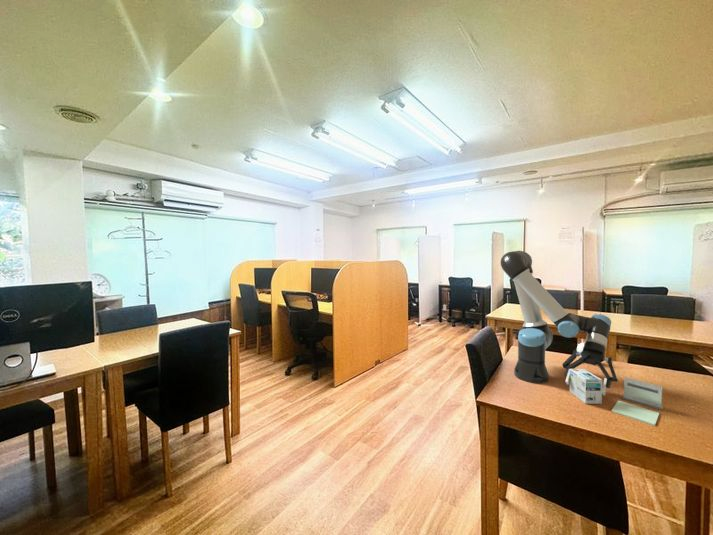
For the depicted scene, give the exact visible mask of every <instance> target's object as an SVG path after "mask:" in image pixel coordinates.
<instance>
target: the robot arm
mask: <svg viewBox="0 0 713 535" xmlns="http://www.w3.org/2000/svg"><path fill="white" fill-rule="evenodd" d="M532 265H533V260H532V256H531V254H529V253H528V252H526V251H523V250H515V251H514V250H513V251H512V250H511V251H508V252H506V253H504V254H503V255H502V257H501V259H500V267H501V269H502V270H503V272H504V273H505V274H506V275H507V276H508V277H509V278H510V279H511V280H512V281H513V283H514V287H515V291H516V294H517V298H518V302H519V305H520V309H521V312H522V317H523V320H524V323H523V324H522V329H520V330H519V332H518V336H517V339H518V340H517V343H518V344H517V347H518V348H517V356H518V357H517V362H516V364H515V366H514V368H513V371H514V372H513V374H514V376H515V377H516V378H518V379H520V380H522V381H525V382H529V383H532V384H533V383H534V384H544V383H548V382H549V381H550V380H549V379H550V374H549V371H548V369H547V366H546V350H547V348H549V347H550V346H551V344H552V343H553V339H554V335H553V332H552V330H551V329H550V328H549V325H548V322H547V321H545V320H544V319H543V316H542V312H541V311H543V313H544V315H546V317H548V319H549V320H550V321H551V323H553V324H554V325H555V326H556V327H557V331H558V333H559V335H560V336H562V337H564V338H569V339H570V338H573V337H576V336H577V335H578V334H579V332H583V333H586V337H585V340H584V343H585V344H584V348H583V351H582V352H578V351H577V349H573V351H572V354H571V355H570V356H568V357H567V359H565V361H564V362H563V363H562V367H563V368H564V369H565V372H564V375H565V377H566V378H565V384H566V385H569V386H570V369H577V367H579V366H580V365H582V364H583V365H584V364H589V365H590V364H591V365H593V366H596V365H597V367H598V368H599V369H600V371H601V372H602V373H603V375H604V378H603V379H604V380H603V382H602V396H606V392H607V389H610V388H611V384H612V382H616V383H617V382H618V377H617V375H616V372H615V368H614V366H613V362H614V361H613V358H612V357H605V353H606V352H605V351H606V348H607V344H608V340H609V339H608V338H609V335H610V331H611V327H612V326H611V325H612V320H611V318H610V317H609V316H607V315H604V314H596V313H595V314H592V316H591V317H589V316H583V315H578V314H575V313H571V312H567V311H566V310H565V308H564V307H563V306H562V305H561V304H560V303H559V302H558V301H557V300H556V299H555V298H554V297H553V296H552V294H550V292H548V290H547V289H546V288H545V287H544V286H543V285H542V284H541V282H539V281H538V279H537V278H536V277H534V275H533V274H534V271H533V270H534V269H533V267H532ZM579 355H581V356H582V357H580V356H579ZM577 357H579V358H578V359H577V360H576V358H577ZM585 362H586V363H585ZM603 362H605V363H606V364H607V365H608V368H609V370H610V371H609V372H611V375H610V374H609V373H608V371H607V370H606V368H605V367H604V365H603V364H602V363H603Z"/></svg>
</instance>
